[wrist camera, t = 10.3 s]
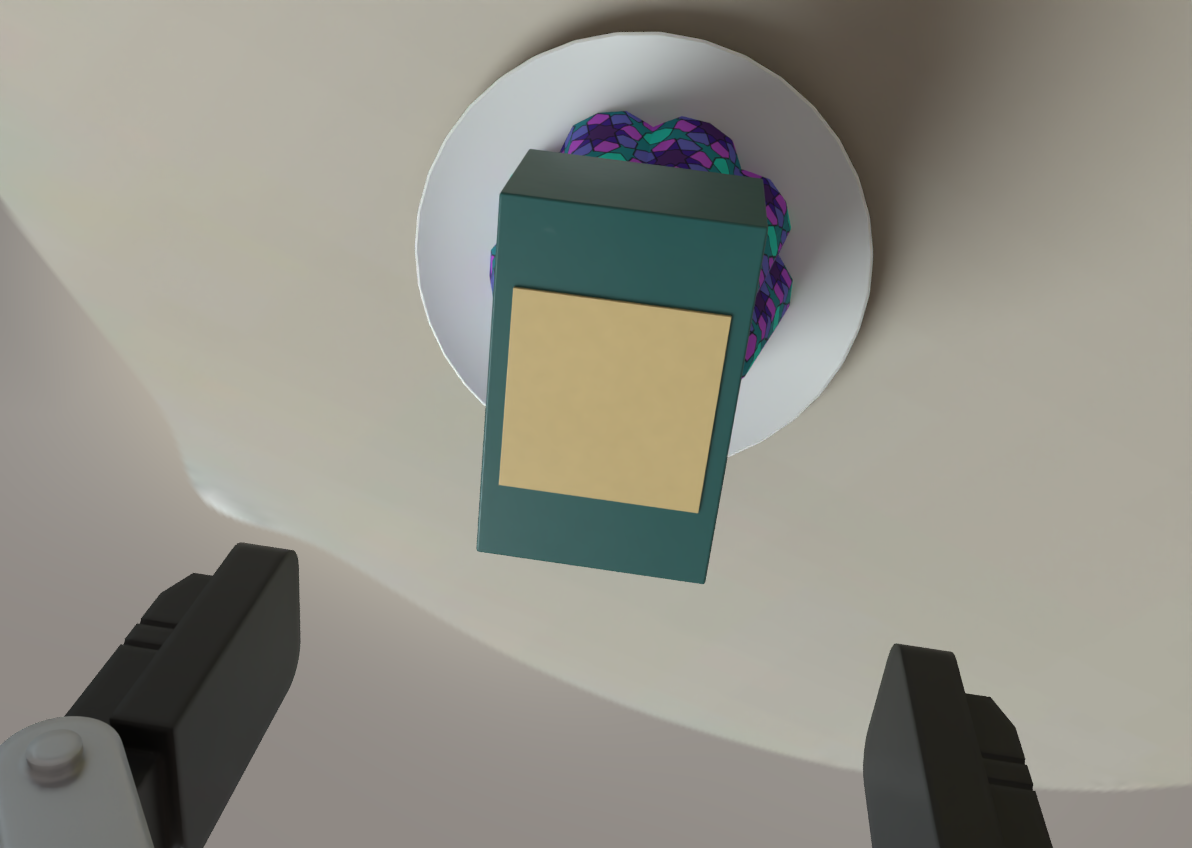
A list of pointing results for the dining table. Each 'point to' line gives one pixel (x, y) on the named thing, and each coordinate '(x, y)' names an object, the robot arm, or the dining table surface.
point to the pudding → (675, 139)
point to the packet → (616, 361)
